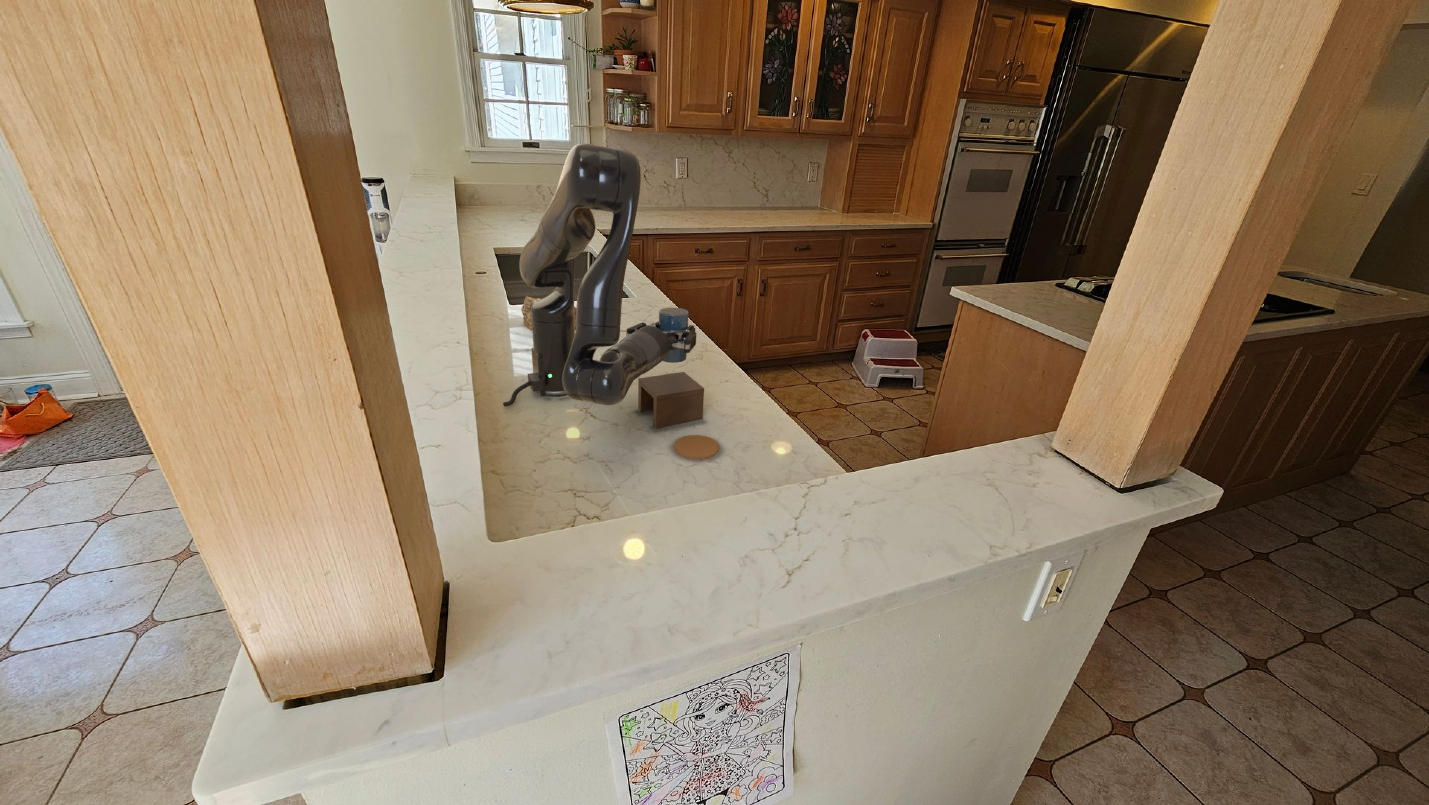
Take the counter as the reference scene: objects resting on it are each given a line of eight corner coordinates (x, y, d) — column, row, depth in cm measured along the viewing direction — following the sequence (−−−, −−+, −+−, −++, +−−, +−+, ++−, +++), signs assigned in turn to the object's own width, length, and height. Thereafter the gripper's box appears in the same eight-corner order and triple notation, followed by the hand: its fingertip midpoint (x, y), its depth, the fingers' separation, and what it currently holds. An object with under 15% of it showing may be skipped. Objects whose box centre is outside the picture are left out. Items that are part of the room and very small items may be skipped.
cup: (664, 364, 124) (666, 316, 120) (653, 354, 129) (654, 308, 125) (691, 360, 127) (693, 314, 123) (679, 351, 132) (680, 306, 127)
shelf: (656, 430, 128) (656, 396, 124) (638, 411, 136) (638, 378, 132) (702, 421, 133) (704, 388, 129) (682, 403, 141) (683, 371, 137)
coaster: (686, 463, 116) (686, 460, 116) (666, 442, 123) (666, 439, 123) (727, 454, 120) (727, 451, 120) (706, 434, 127) (706, 431, 127)
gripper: (677, 338, 109) (710, 315, 124) (607, 325, 114) (647, 304, 128) (676, 377, 113) (708, 350, 127) (607, 363, 117) (646, 338, 131)
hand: (677, 327), depth 127 cm, fingers closed on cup, 6 cm apart
